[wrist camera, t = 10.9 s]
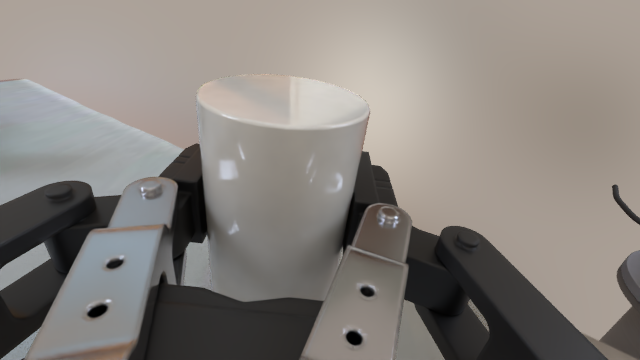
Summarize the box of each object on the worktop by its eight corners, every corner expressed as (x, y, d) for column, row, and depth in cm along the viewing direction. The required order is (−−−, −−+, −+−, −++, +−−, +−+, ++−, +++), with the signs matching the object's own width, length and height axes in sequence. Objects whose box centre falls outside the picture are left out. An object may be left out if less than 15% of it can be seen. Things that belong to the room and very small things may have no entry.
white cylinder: (273, 274, 16) (285, 68, 11) (343, 329, 14) (400, 104, 9) (193, 333, 13) (158, 83, 8) (268, 417, 11) (288, 145, 6)
